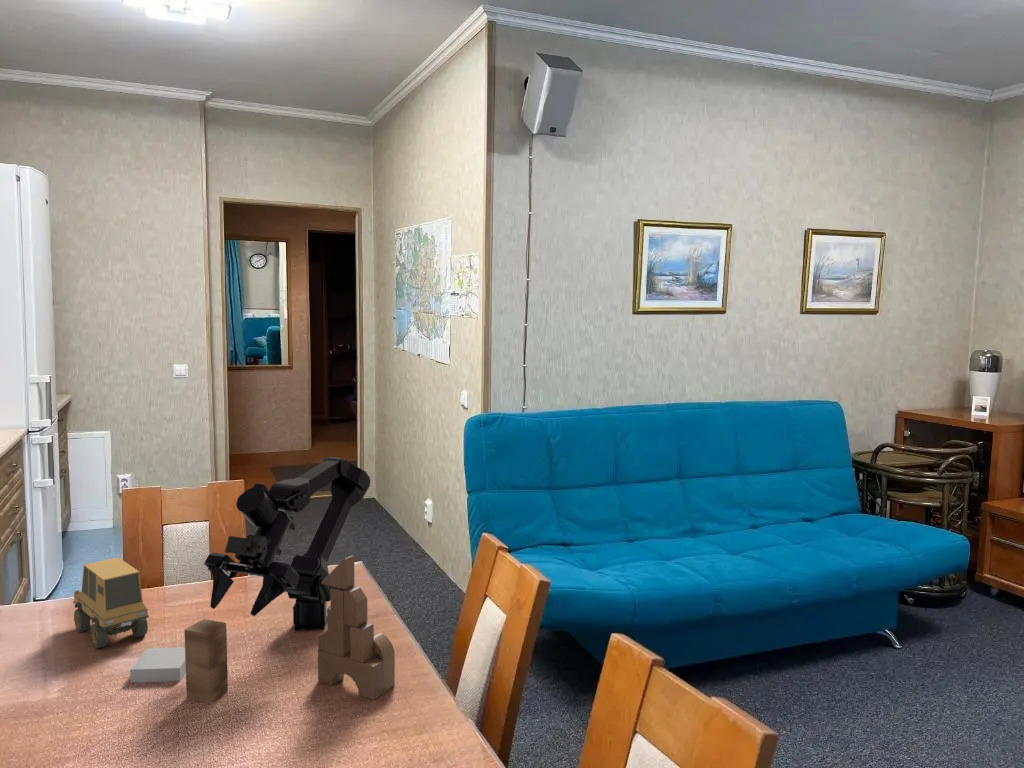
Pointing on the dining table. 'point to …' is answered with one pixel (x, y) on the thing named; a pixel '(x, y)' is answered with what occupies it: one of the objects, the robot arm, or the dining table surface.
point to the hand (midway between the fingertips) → (232, 611)
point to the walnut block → (206, 660)
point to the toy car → (110, 601)
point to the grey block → (159, 665)
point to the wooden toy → (353, 639)
